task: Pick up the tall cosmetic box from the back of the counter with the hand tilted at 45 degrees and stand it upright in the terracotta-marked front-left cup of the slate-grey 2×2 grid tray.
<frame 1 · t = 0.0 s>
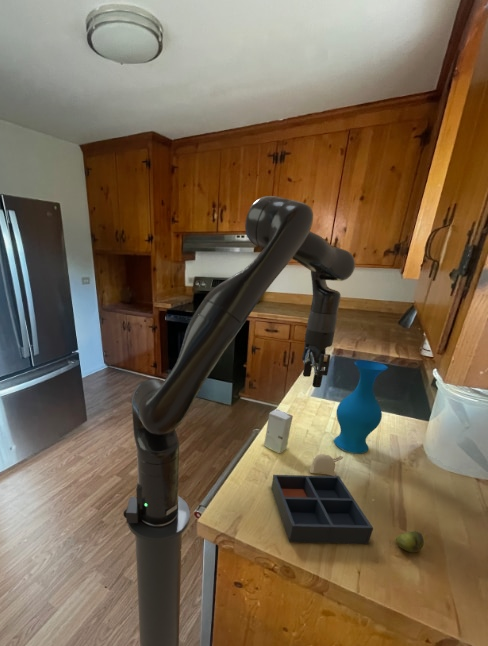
hand: (311, 381, 99), 22 cm above the counter, tool pointing down, fingers open, 8 cm apart
decorative ornament: (323, 472, 94), on the counter
vase: (350, 446, 107), on the counter
lime: (407, 549, 70), on the counter
cosmetic box: (275, 447, 105), on the counter
grid: (314, 513, 79), on the counter
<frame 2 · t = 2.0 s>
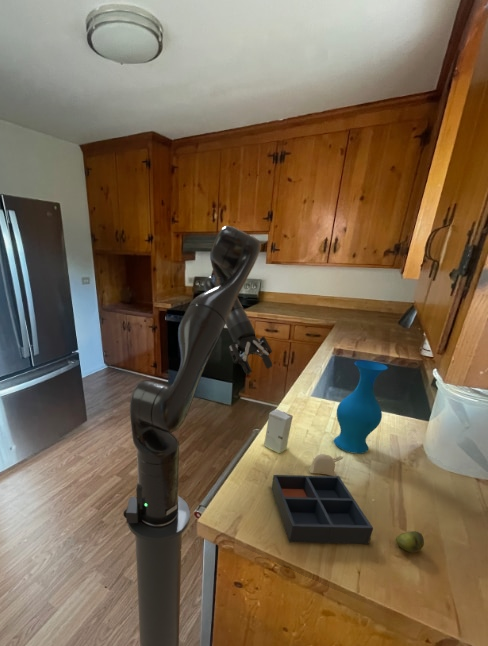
hand: (259, 370, 104), 23 cm above the counter, tool tilted 40°, fingers open, 8 cm apart
nothing on the counter moved.
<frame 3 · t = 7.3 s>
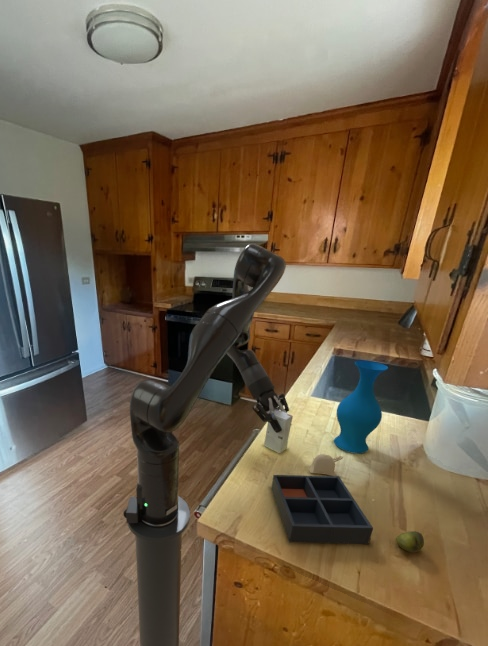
hand: (284, 428, 101), 8 cm above the counter, tool tilted 45°, fingers closed on cosmetic box, 4 cm apart
cosmetic box: (275, 447, 105), on the counter, touching gripper
everything else where it was.
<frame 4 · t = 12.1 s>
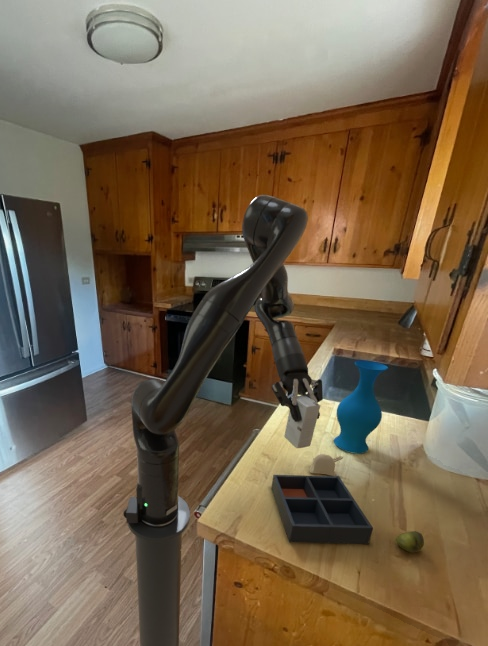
hand: (307, 419, 81), 20 cm above the counter, tool tilted 45°, fingers closed on cosmetic box, 4 cm apart
cosmetic box: (297, 442, 86), point 12 cm above the counter, touching gripper
everything else where it was.
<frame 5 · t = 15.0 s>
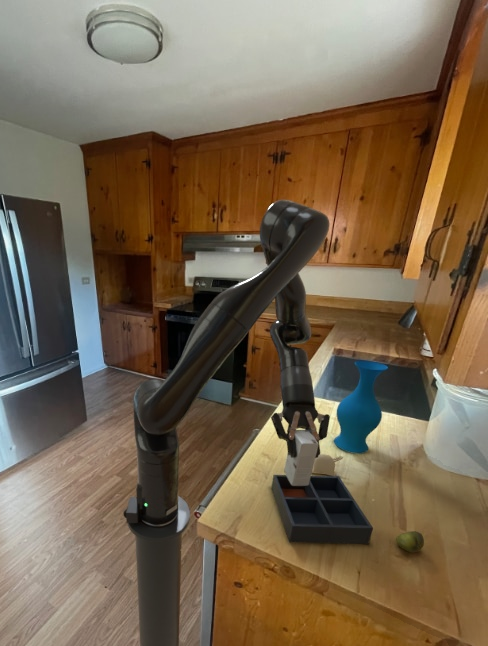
hand: (304, 457, 75), 14 cm above the counter, tool tilted 45°, fingers closed on cosmetic box, 4 cm apart
cosmetic box: (296, 479, 80), point 7 cm above the counter, touching gripper
everything else where it was.
when the fingers open (8 cm above the counter, at t = 17.1 s): cosmetic box stays where it is, resting on grid.
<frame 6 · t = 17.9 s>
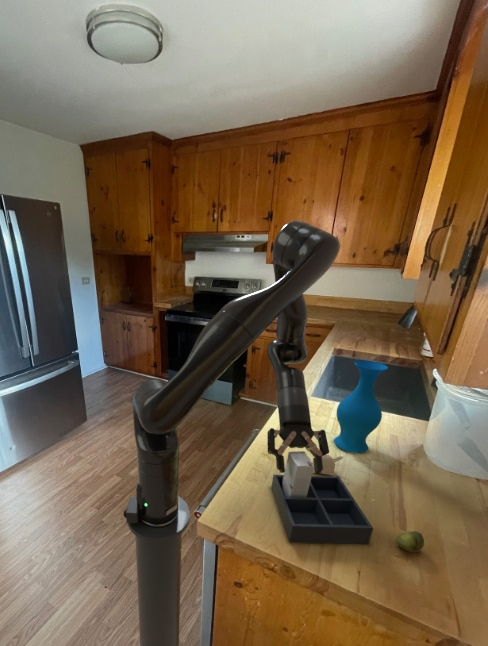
hand: (300, 472, 78), 10 cm above the counter, tool tilted 45°, fingers open, 8 cm apart
cosmetic box: (292, 498, 82), point 1 cm above the counter, touching grid
everything else where it was.
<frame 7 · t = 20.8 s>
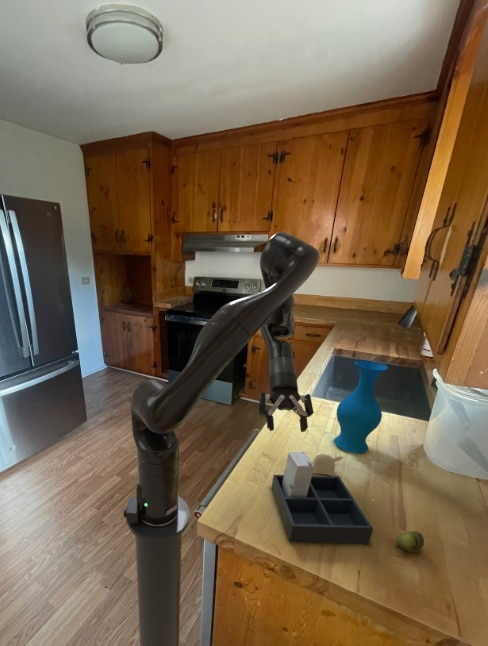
hand: (287, 430, 88), 14 cm above the counter, tool tilted 45°, fingers open, 8 cm apart
nothing on the counter moved.
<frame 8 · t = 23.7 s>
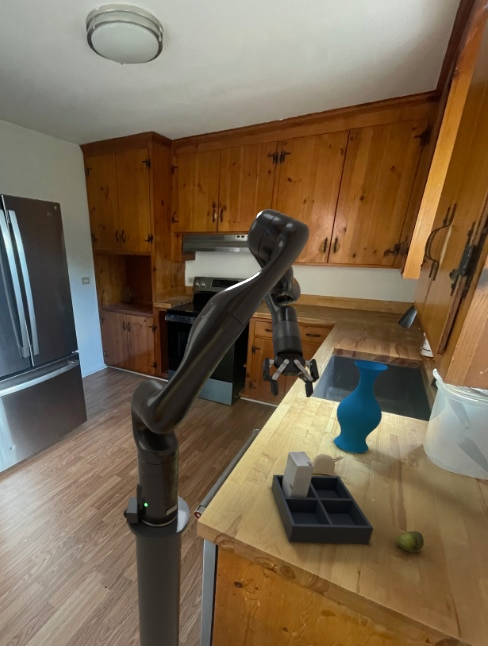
hand: (292, 395, 85), 24 cm above the counter, tool tilted 45°, fingers open, 8 cm apart
nothing on the counter moved.
at the end: cosmetic box 0.1 cm from the target spot in the grid, point 0.6 cm above the grid's base; cosmetic box tilted 0°; the gripper is holding nothing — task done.
